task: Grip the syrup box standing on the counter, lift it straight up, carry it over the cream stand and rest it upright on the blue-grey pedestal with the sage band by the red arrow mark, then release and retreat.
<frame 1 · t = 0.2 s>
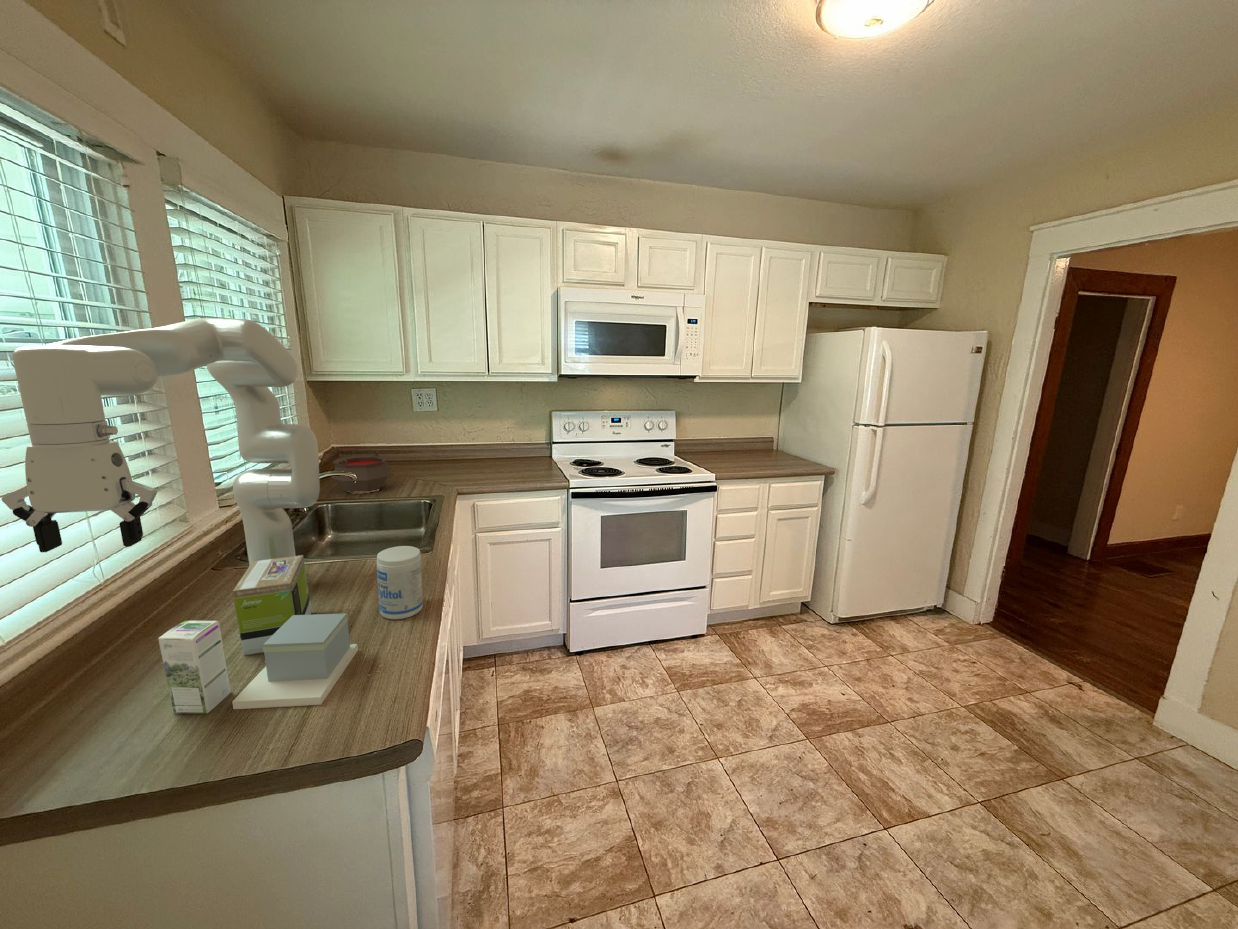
hand: (93, 546, 74), 30 cm above the counter, fingers open, 9 cm apart
supplement tub: (402, 611, 116), on the counter
tea box: (280, 633, 106), on the counter
stand: (312, 670, 94), on the counter
syrup box: (203, 704, 84), on the counter
dark round pot: (363, 490, 214), on the counter
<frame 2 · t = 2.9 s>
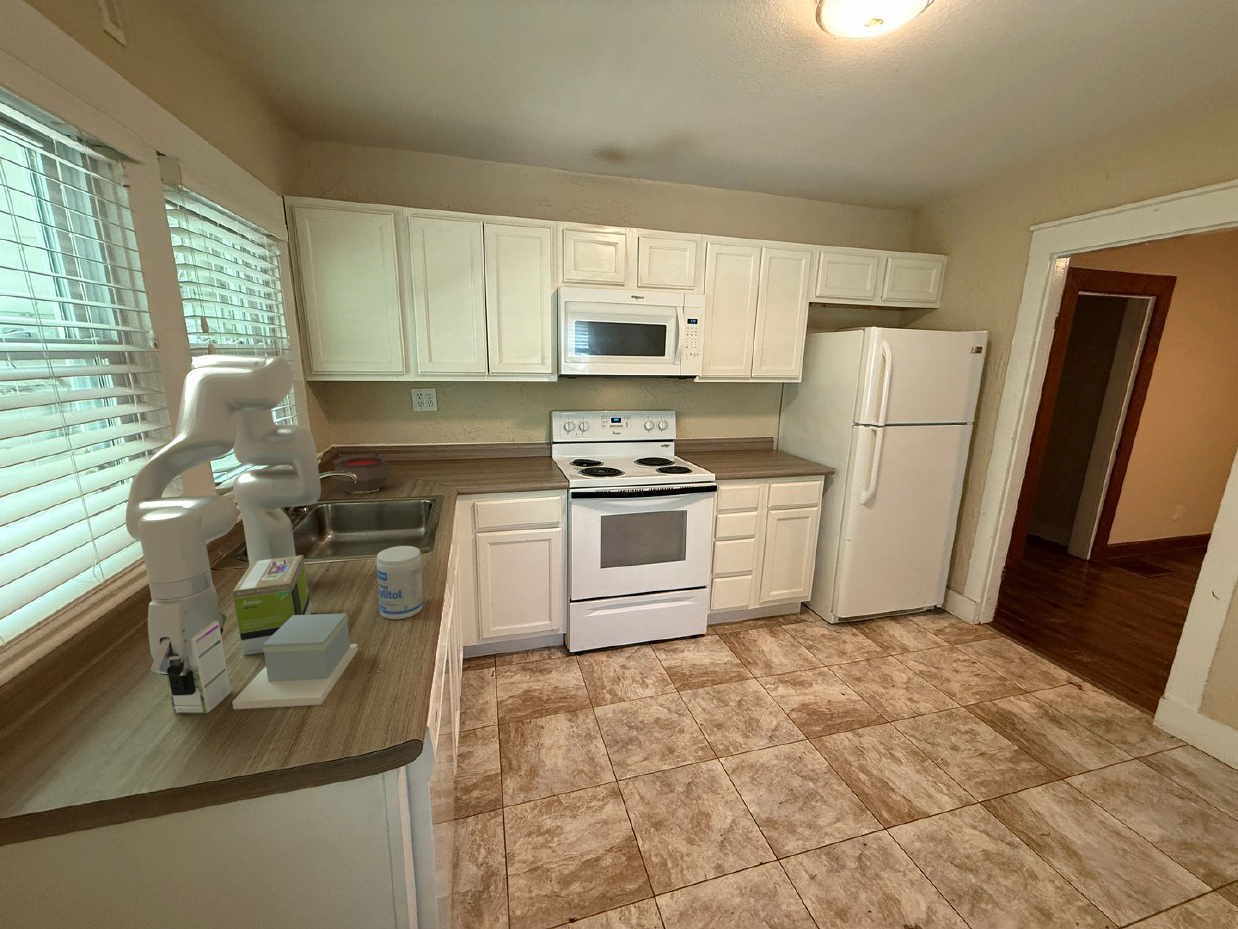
hand: (198, 679, 83), 5 cm above the counter, fingers closed on syrup box, 6 cm apart
syrup box: (203, 704, 84), on the counter, touching gripper
everything else where it was.
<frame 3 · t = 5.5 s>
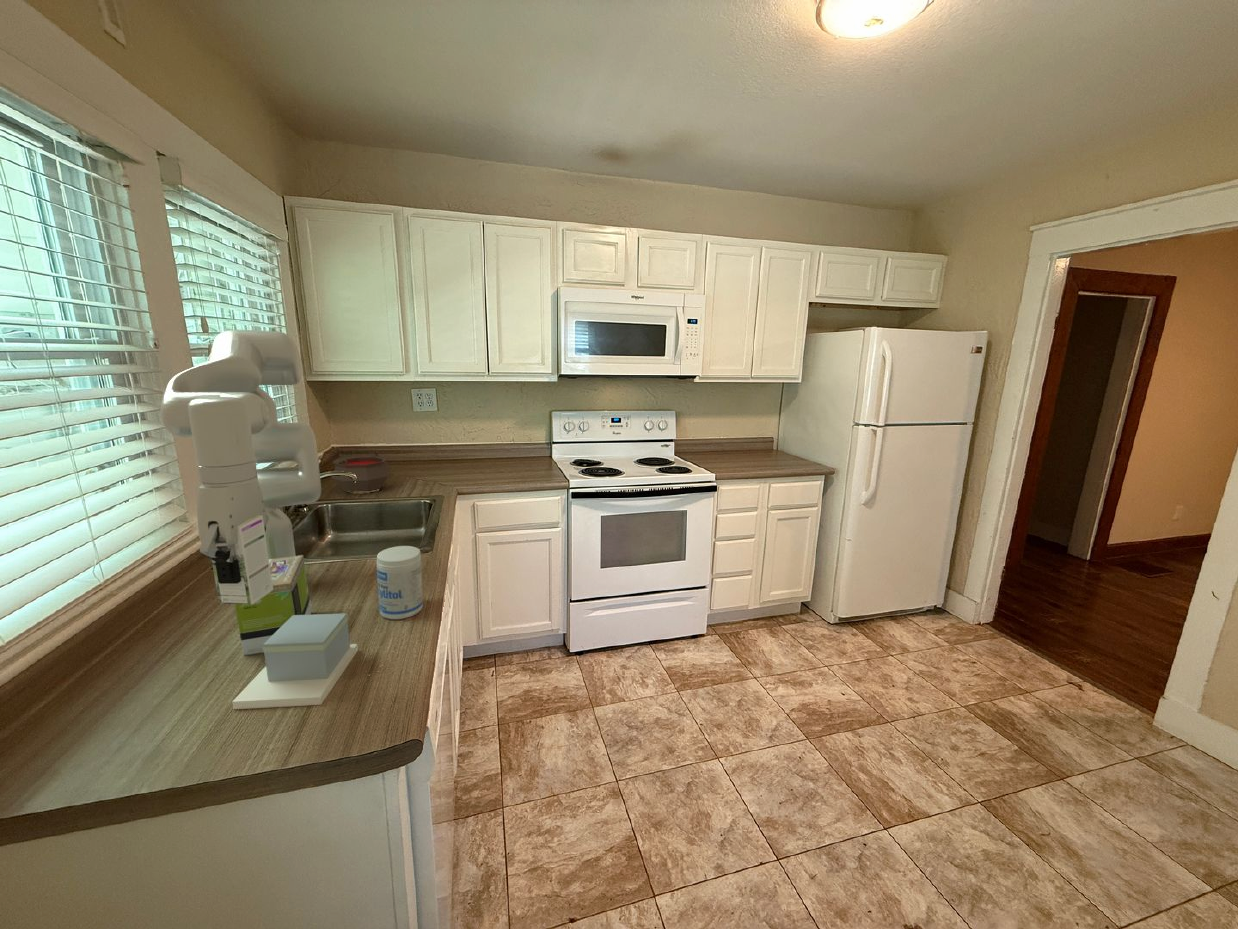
hand: (243, 572, 84), 22 cm above the counter, fingers closed on syrup box, 6 cm apart
syrup box: (247, 598, 85), point 17 cm above the counter, touching gripper
everything else where it was.
when the fingers open (15 cm above the counter, at t = 7.9 s): syrup box drops 1 cm, resting on stand.
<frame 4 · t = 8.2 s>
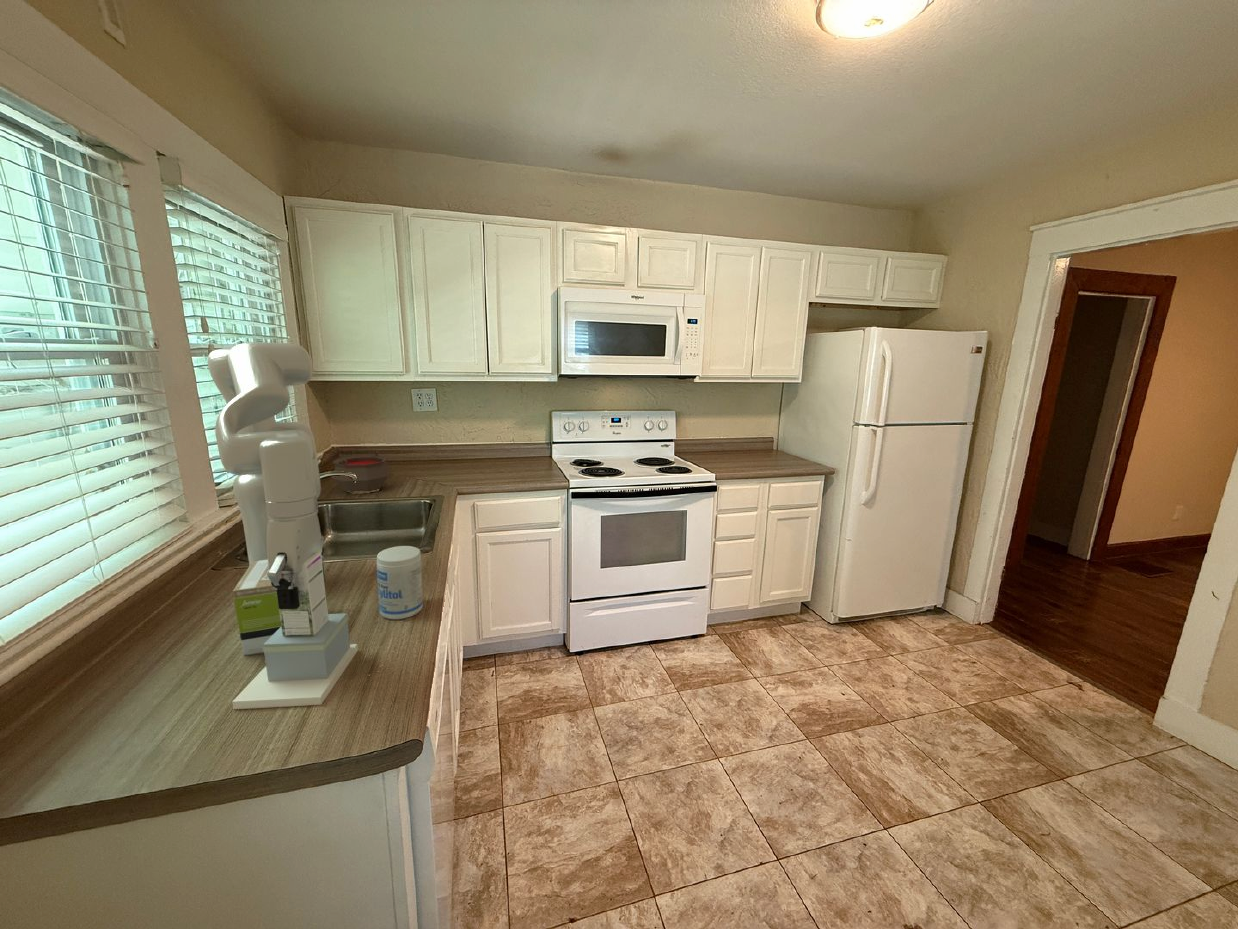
hand: (303, 595, 90), 16 cm above the counter, fingers open, 9 cm apart
syrup box: (306, 629, 92), point 9 cm above the counter, touching stand
everything else where it was.
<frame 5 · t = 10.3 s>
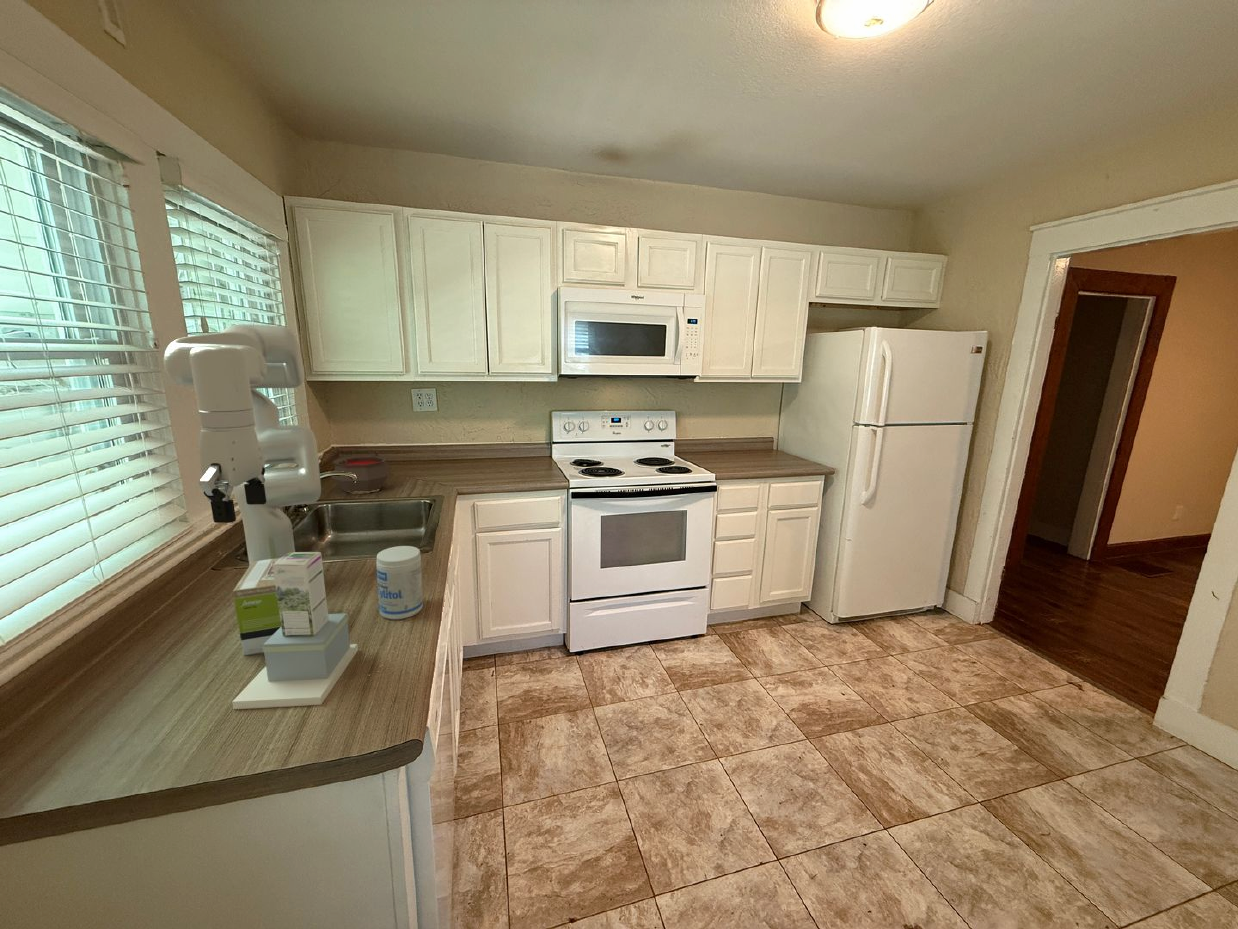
hand: (241, 512, 89), 31 cm above the counter, fingers open, 9 cm apart
nothing on the counter moved.
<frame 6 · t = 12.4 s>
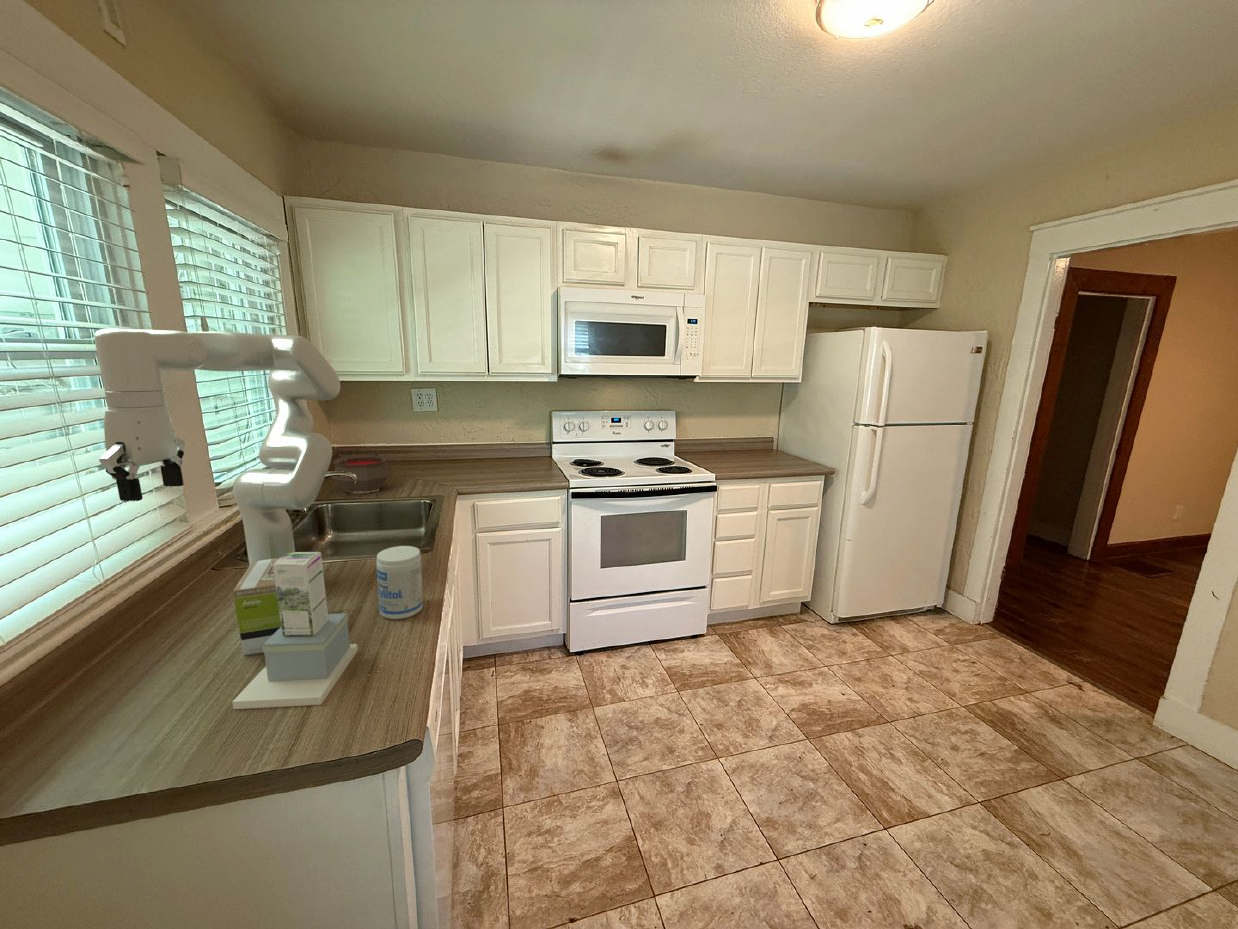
hand: (153, 492, 91), 33 cm above the counter, fingers open, 9 cm apart
nothing on the counter moved.
at the end: syrup box inside the target area on the stand (0.2 cm from its centre), point 8.8 cm above the stand's base; syrup box tilted 0°; the gripper is holding nothing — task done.
